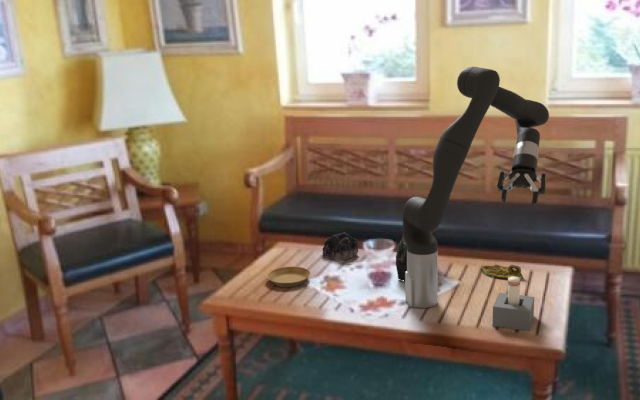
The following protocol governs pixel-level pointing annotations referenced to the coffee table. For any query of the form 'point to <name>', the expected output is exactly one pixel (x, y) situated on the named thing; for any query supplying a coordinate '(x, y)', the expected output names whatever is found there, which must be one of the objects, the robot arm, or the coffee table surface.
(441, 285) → the coffee table surface
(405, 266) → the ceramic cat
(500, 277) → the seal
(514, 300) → the dowel
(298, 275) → the plant saucer
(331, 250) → the crystal cluster
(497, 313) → the hole block
